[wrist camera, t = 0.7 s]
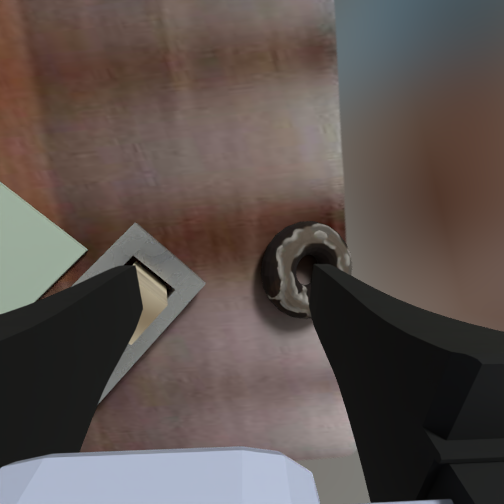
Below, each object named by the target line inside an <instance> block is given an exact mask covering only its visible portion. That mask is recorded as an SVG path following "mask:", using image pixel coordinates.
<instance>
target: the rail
mask: <svg viewBox="0 0 504 504" xmlns="http://www.w3.org/2000/svg"><path fill="white" fill-rule="evenodd" d="M132 256H135V257H136V258H137V259H138V260H140V261H141V262H142V263H143V264H144V265H146V266H147V267H148V268H149V269H151V270H152V271H153V272H154V273H156V274H157V275H158V276H159V277H160V278H162V279H163V280H164V281H165V282H167V283H168V284H169V285H170V286H172V288H171V289H170V290H169V291H168V292H167V302H168V305H167V307H166V308H165V309H164V310H163V311H162V312H161V313H160V314H159V315H158V316H157V318H156V319H155V320H154V321H153V322H152V323H151V324H150V325H149V326H148V328H147V329H146V330H145V331H144V332H143V333H142V334H141V335H140V336H139V337H138V339H137V340H136V341H135V342H134V343H133V344H132V345H130V344H129V343H128V345H127V347H126V349H125V351H124V353H123V354H122V356H121V358H120V360H119V362H118V364H117V366H116V367H115V369H114V371H113V373H112V375H111V377H110V378H109V381H108V383H107V385H106V387H105V389H104V391H103V393H102V396H101V398H100V400H99V403H100V402H101V400H102V399H103V398H104V397H105V396H106V395H107V394H108V393H109V392H110V390H111V389H112V388H113V387H114V386H115V385H116V384H117V383H118V381H119V380H120V379H121V378H122V377H123V376H124V375H125V374H126V372H127V371H128V370H129V369H130V368H131V367H132V366H133V365H134V364H135V362H136V361H137V360H138V359H139V358H140V357H141V356H142V355H143V353H144V352H145V351H146V350H147V349H148V348H149V347H150V346H151V344H152V343H153V342H154V341H155V340H156V339H157V338H158V337H159V336H160V334H161V333H162V332H163V331H164V330H165V329H166V328H167V327H168V325H169V324H170V323H171V322H172V321H173V320H174V319H175V318H176V316H177V315H178V314H179V313H180V312H181V311H182V310H183V309H184V308H185V306H186V305H187V304H188V303H189V302H190V301H191V300H192V299H193V297H194V296H195V295H196V294H197V293H198V292H199V291H200V290H201V288H202V287H203V286H204V285H205V284H206V283H205V282H204V281H203V279H202V278H200V277H199V276H198V275H197V274H196V273H195V272H193V271H192V270H191V269H190V268H189V267H188V266H186V265H185V264H184V263H183V262H182V261H181V260H179V259H178V258H177V257H176V256H175V255H174V254H172V253H171V252H170V251H169V250H168V249H167V248H165V247H164V246H163V245H162V244H161V243H160V242H158V241H157V240H156V239H155V238H154V237H153V236H151V235H150V234H149V233H148V232H147V231H146V230H144V229H143V228H142V227H141V226H140V225H139V224H137V223H134V224H133V225H132V226H131V227H130V228H129V229H128V230H127V231H126V232H125V233H124V234H123V235H122V236H121V237H120V238H119V239H118V240H117V241H116V242H115V243H114V244H113V245H112V246H111V247H110V248H109V249H108V250H107V251H106V252H105V253H104V254H103V255H102V256H101V257H100V258H99V259H98V260H97V261H96V262H95V263H94V264H93V265H92V266H91V267H90V268H89V269H88V270H87V271H86V272H85V273H84V274H83V275H82V276H81V277H80V278H79V279H78V280H77V281H76V282H75V284H74V285H76V284H78V283H80V282H83V281H85V280H87V279H89V278H91V277H93V276H95V275H98V274H100V273H102V272H104V271H106V270H109V269H111V268H114V267H117V266H120V265H124V264H125V263H126V262H127V261H128V260H129V259H130V258H131V257H132ZM74 285H73V286H74ZM99 403H98V404H99Z"/></svg>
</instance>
